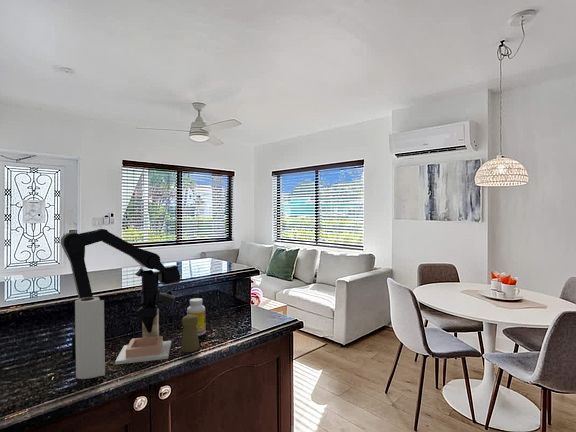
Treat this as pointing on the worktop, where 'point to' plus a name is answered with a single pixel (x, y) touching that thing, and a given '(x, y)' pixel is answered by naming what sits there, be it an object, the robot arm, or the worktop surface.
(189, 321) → the olive pepper mill
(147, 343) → the pocket plate
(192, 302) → the supplement bottle
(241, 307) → the worktop surface
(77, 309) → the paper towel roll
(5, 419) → the worktop surface
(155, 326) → the maple block
